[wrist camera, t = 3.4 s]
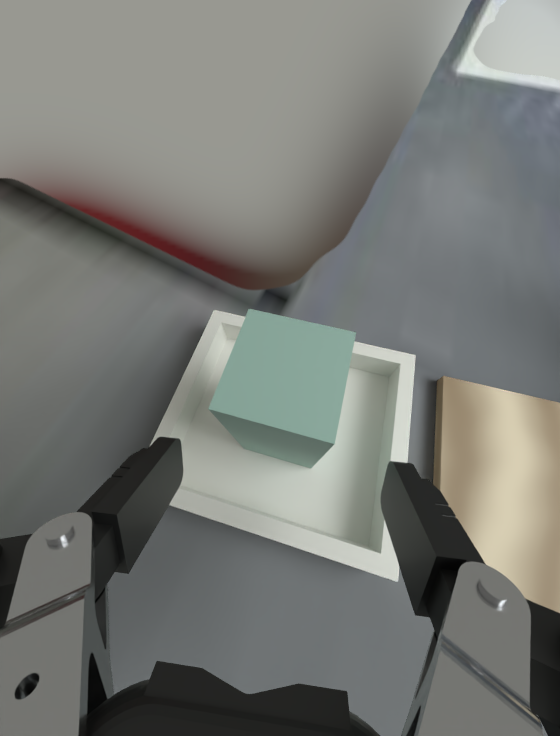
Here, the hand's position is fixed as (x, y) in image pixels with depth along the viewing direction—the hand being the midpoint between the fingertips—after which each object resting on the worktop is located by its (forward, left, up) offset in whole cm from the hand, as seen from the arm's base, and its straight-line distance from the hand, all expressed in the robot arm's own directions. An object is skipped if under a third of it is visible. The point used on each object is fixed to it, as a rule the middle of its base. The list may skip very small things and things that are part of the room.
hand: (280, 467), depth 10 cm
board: (+17, +4, -10) cm, 20 cm away
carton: (-1, +4, -9) cm, 10 cm away
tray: (-1, +4, -10) cm, 10 cm away
